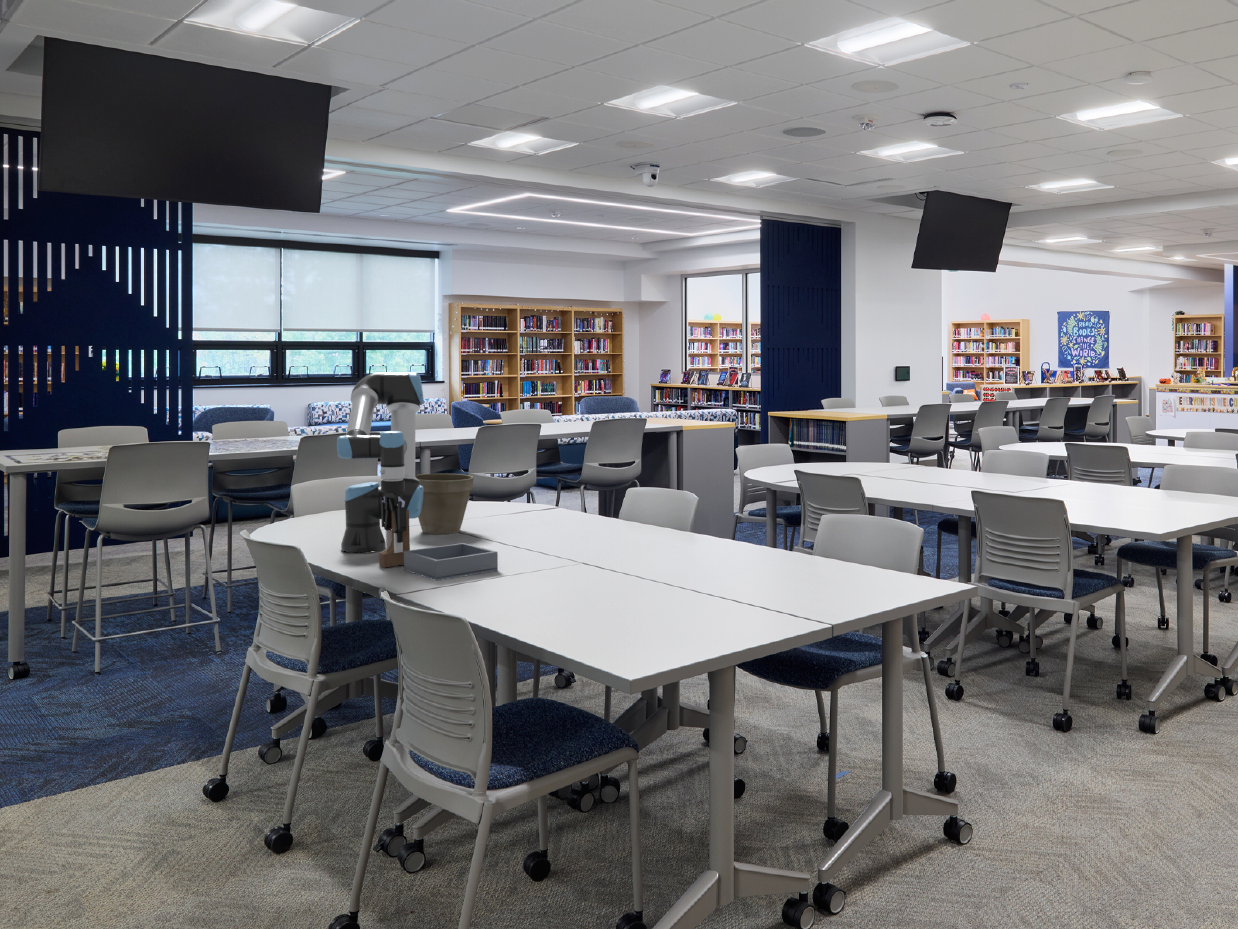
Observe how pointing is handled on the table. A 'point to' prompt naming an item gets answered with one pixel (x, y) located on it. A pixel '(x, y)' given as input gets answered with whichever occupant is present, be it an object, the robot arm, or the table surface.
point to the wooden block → (388, 556)
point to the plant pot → (444, 502)
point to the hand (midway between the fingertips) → (394, 550)
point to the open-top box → (450, 561)
